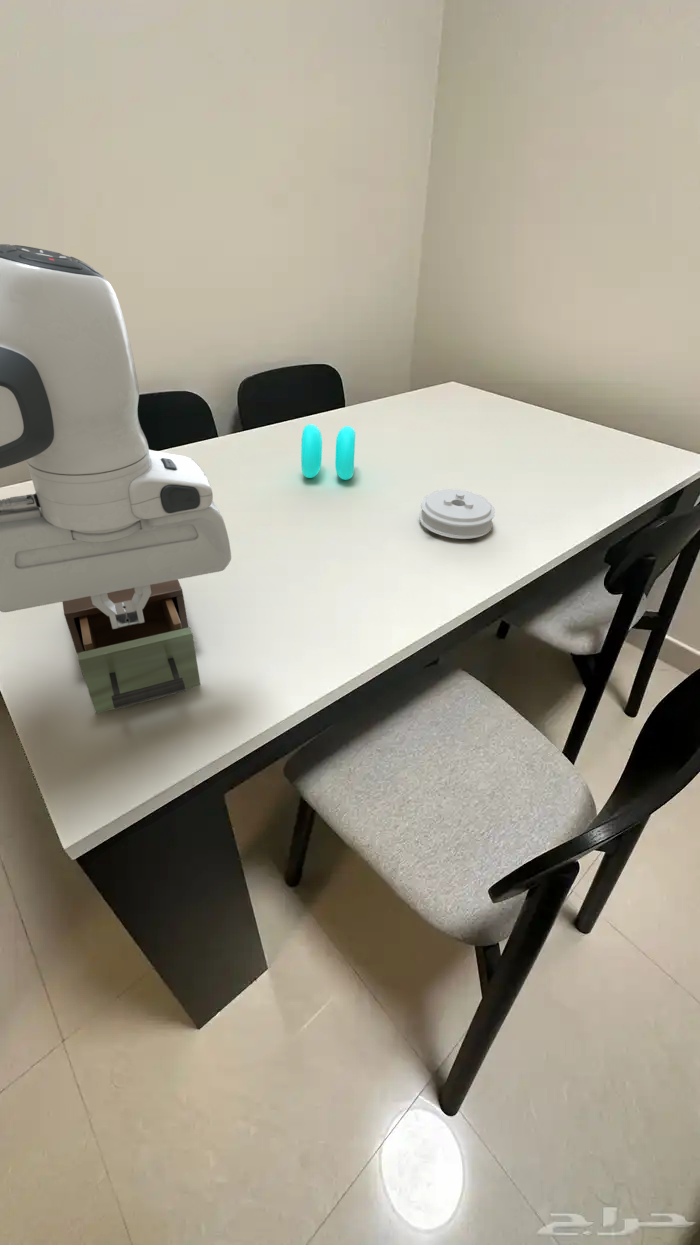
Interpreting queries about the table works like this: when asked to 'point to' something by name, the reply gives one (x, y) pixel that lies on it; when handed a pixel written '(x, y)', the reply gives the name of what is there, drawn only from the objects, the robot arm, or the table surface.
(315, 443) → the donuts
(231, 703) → the table surface
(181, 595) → the cabinet
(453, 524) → the white grooved pulley wheel
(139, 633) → the drawer
